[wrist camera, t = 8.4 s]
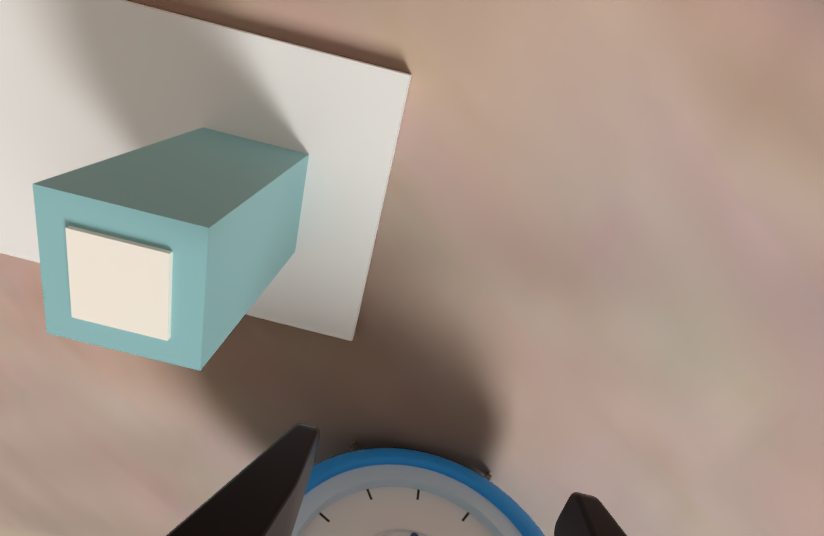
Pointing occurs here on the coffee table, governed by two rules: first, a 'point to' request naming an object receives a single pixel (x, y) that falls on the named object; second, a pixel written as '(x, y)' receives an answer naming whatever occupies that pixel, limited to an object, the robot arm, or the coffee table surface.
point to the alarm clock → (405, 498)
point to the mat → (195, 108)
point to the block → (167, 242)
